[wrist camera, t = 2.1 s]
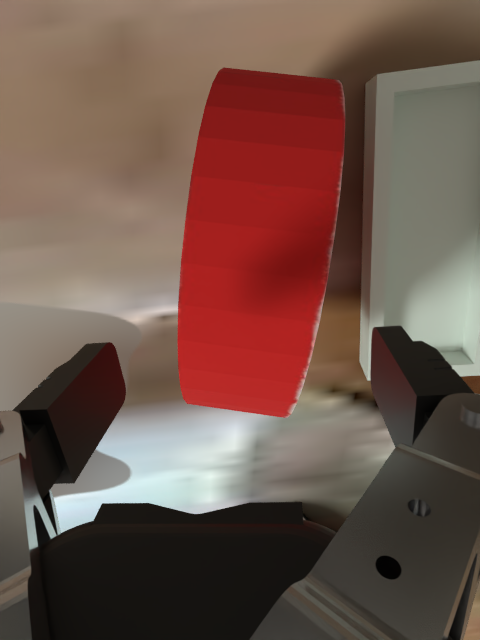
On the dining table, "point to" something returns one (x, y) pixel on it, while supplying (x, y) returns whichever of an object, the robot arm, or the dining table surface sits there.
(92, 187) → the dining table surface
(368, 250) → the tray
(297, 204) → the toy clock
